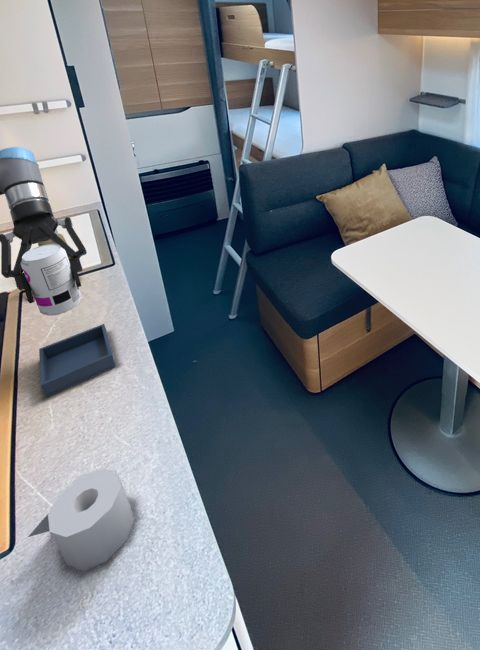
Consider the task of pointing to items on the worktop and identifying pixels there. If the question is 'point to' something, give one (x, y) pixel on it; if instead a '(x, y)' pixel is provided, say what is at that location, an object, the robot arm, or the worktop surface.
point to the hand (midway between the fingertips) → (55, 293)
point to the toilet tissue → (89, 519)
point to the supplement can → (51, 279)
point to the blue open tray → (75, 359)
